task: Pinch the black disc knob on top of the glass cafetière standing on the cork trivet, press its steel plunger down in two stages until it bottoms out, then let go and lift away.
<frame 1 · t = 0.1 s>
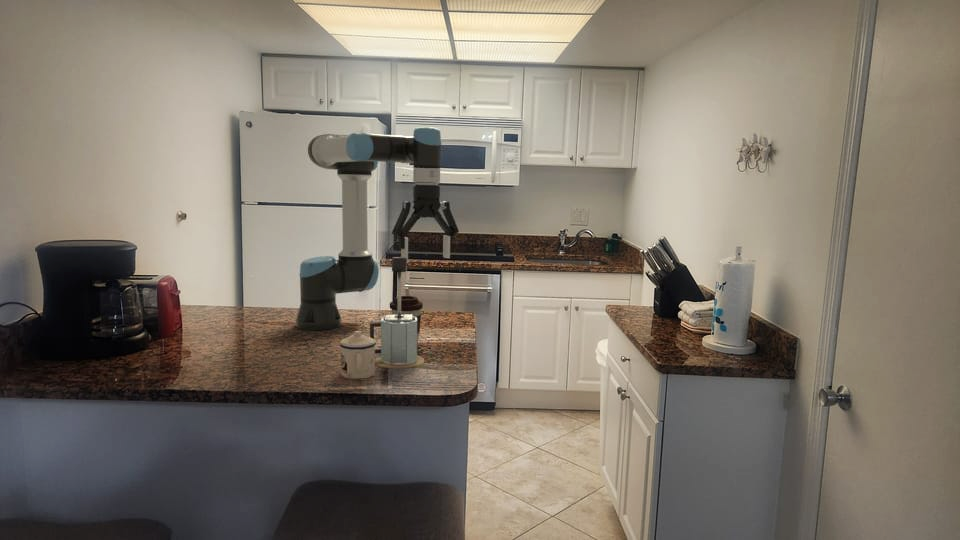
hand: (425, 259, 173), 28 cm above the countertop, fingers open, 13 cm apart
coffee cup: (406, 346, 185), on the countertop
teacup with lid: (358, 377, 156), on the countertop
cork trivet: (399, 362, 168), on the countertop
plunger: (399, 291, 165), point 20 cm above the countertop, slide at 0.0 cm
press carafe: (399, 360, 168), resting on cork trivet
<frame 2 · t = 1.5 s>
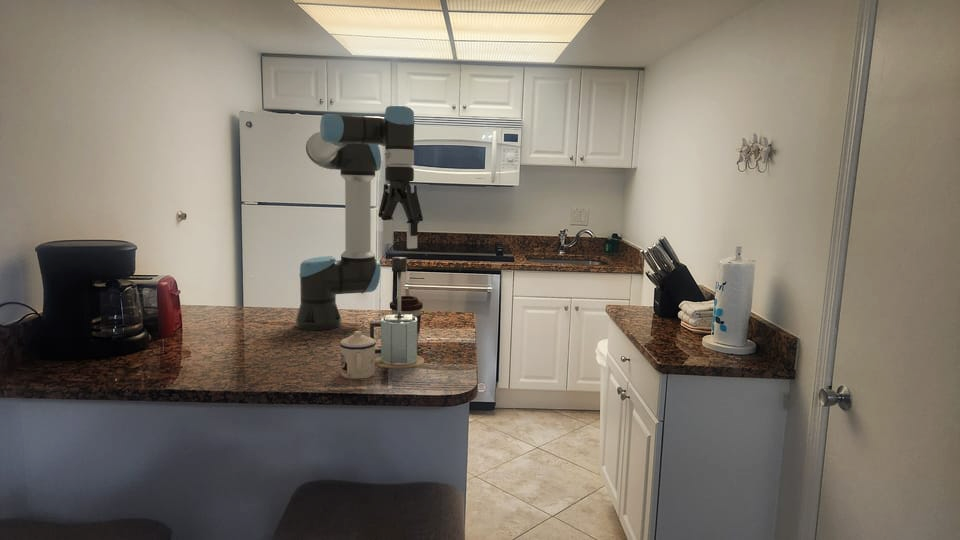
hand: (399, 245, 163), 33 cm above the countertop, fingers open, 13 cm apart
nothing on the countertop moved.
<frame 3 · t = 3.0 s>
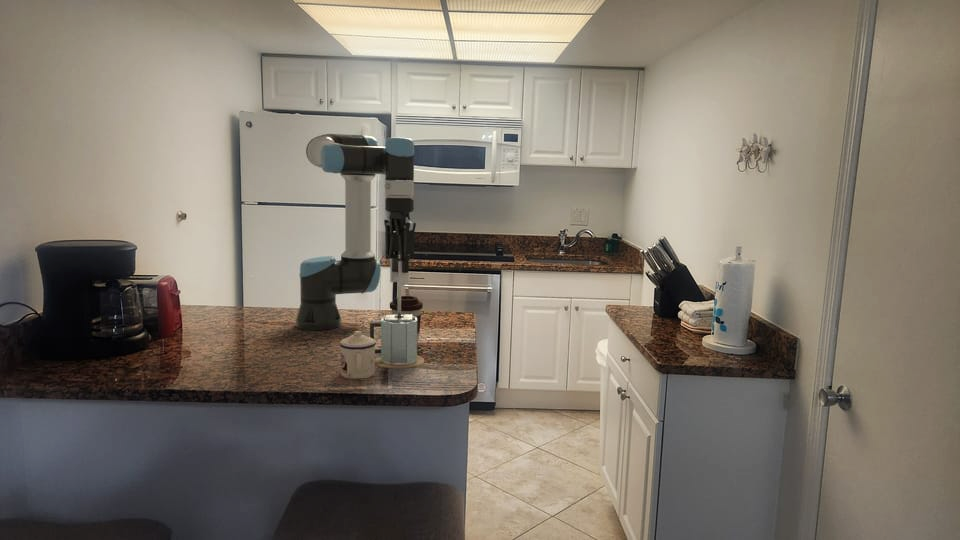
hand: (399, 282, 165), 23 cm above the countertop, fingers closed on plunger, 4 cm apart
plunger: (399, 291, 165), point 20 cm above the countertop, slide at 0.0 cm, touching gripper
everything else where it was.
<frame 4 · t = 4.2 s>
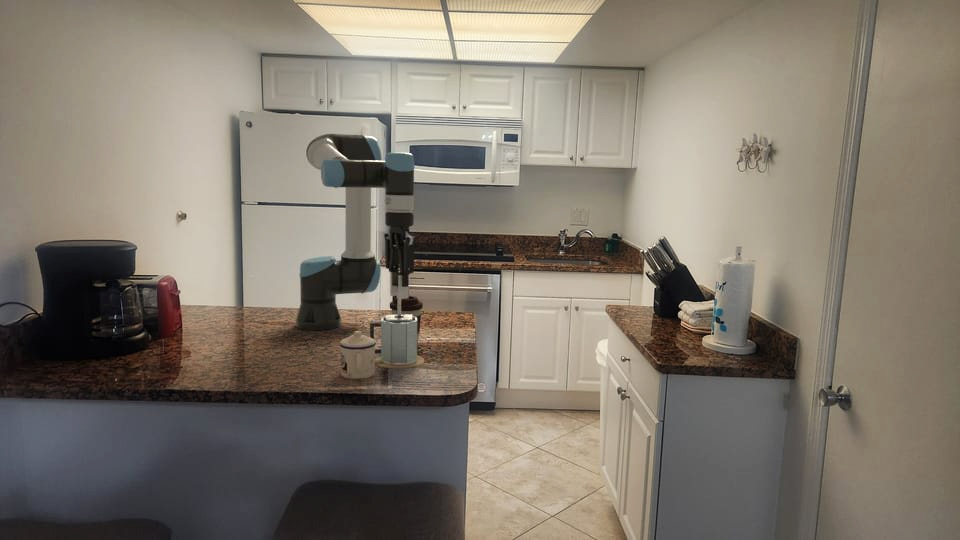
hand: (399, 296, 165), 19 cm above the countertop, fingers closed on plunger, 4 cm apart
plunger: (399, 305, 166), point 16 cm above the countertop, slide at 3.8 cm, touching gripper
everything else where it was.
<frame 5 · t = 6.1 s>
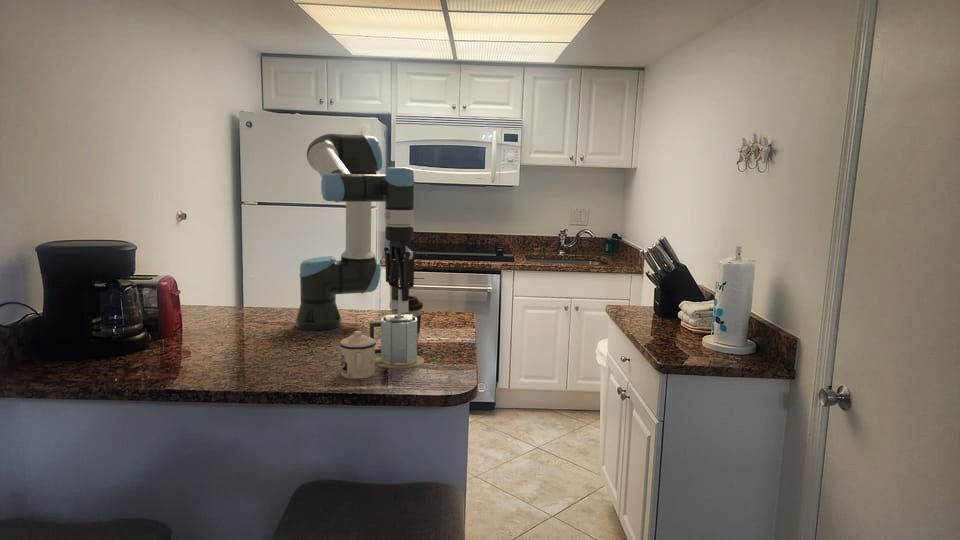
hand: (399, 310, 166), 15 cm above the countertop, fingers closed on plunger, 4 cm apart
plunger: (399, 319, 166), point 12 cm above the countertop, slide at 7.7 cm, touching gripper
everything else where it was.
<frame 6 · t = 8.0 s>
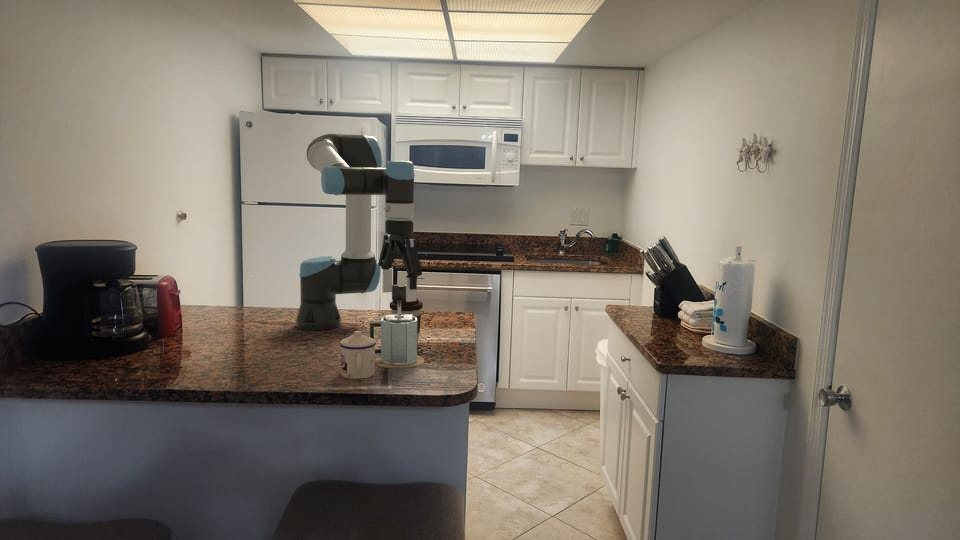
hand: (398, 296, 166), 19 cm above the countertop, fingers open, 13 cm apart
plunger: (399, 319, 166), point 12 cm above the countertop, slide at 7.7 cm
everything else where it was.
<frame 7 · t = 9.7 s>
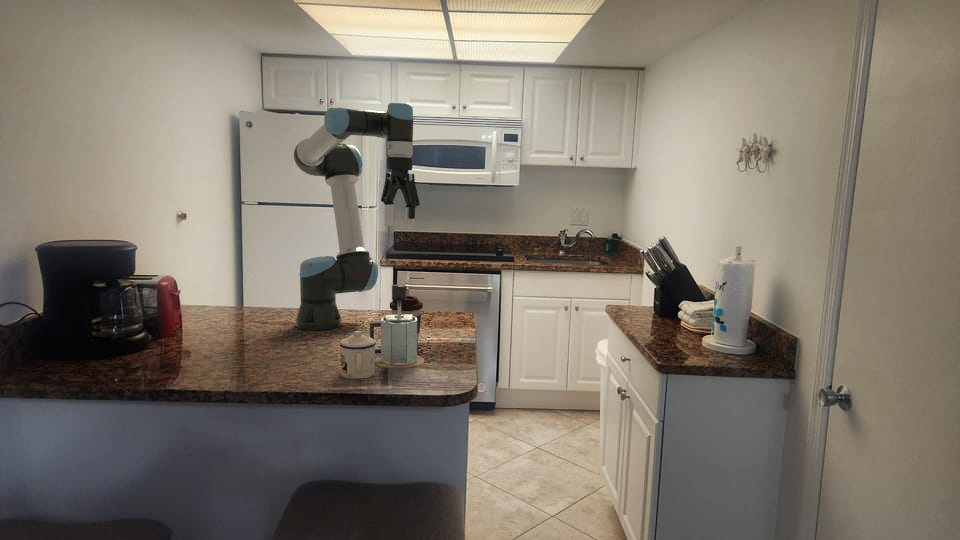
hand: (399, 227, 183), 36 cm above the countertop, fingers open, 13 cm apart
nothing on the countertop moved.
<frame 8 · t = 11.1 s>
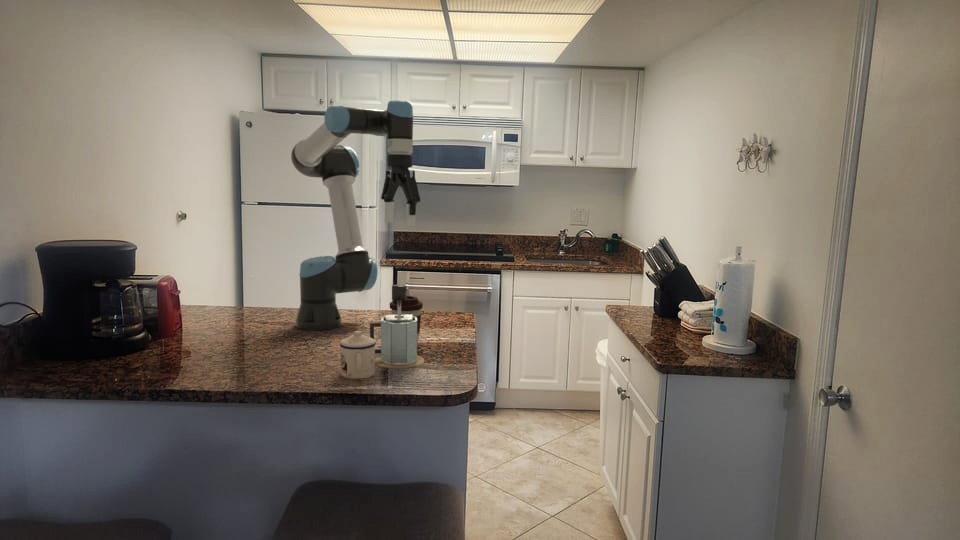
hand: (399, 224, 185), 37 cm above the countertop, fingers open, 13 cm apart
nothing on the countertop moved.
at the end: plunger slide at 7.7 cm; the gripper is holding nothing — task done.
